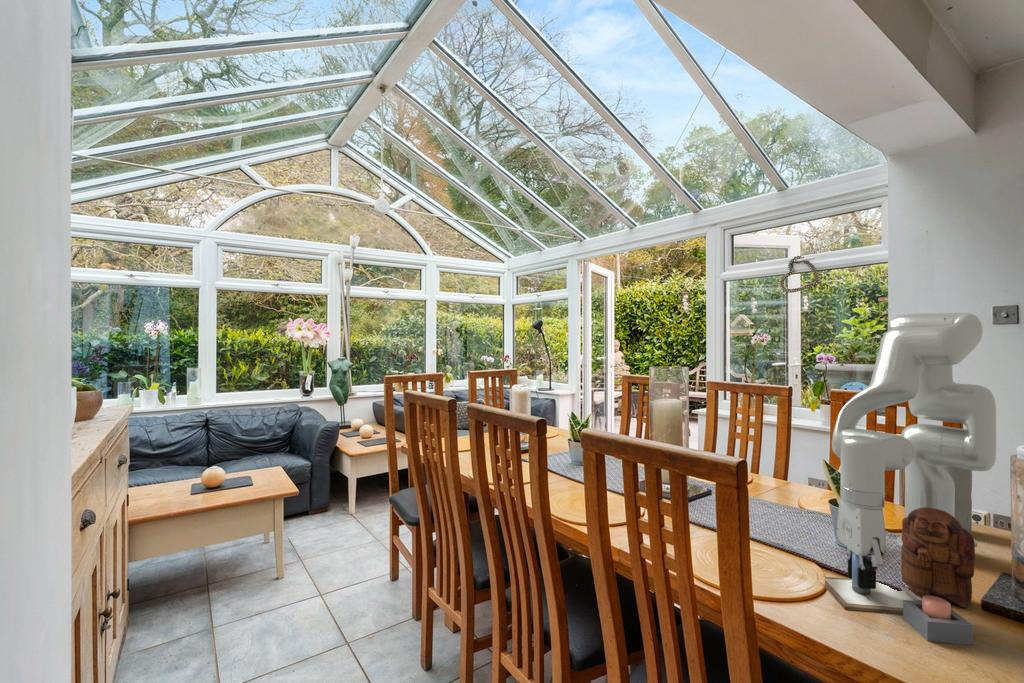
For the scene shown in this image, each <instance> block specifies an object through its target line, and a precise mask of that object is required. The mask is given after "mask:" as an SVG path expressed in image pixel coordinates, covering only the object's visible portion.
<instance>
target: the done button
mask: <svg viewBox="0 0 1024 683" xmlns="http://www.w3.org/2000/svg"><path fill="white" fill-rule="evenodd" d="M921 598H922V599H921V600H922V611H923V612H924V613H925V614H926V615H928V616H929V617H930V618H936V619H948V620H951V609H952V605H951V604H952V603H949V602H948V601H946V600H944V599H942V598H939V597H935V596H929V595H925V596H923V597H921Z"/></svg>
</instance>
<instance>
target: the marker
mask: <svg viewBox="0 0 1024 683" xmlns="http://www.w3.org/2000/svg"><path fill="white" fill-rule="evenodd" d="M869 554H871V552H869ZM867 560H871V558H865V562H866V561H867ZM858 568H860V562H859V556H858V555H856V554H855V553H854V552H852V589H853V590H854V591H855V592H858V593H861V594H870V593H871V589H866V588H859V587H858V585H857V579H858Z"/></svg>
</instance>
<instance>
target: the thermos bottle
mask: <svg viewBox="0 0 1024 683" xmlns="http://www.w3.org/2000/svg"><path fill="white" fill-rule="evenodd" d="M943 467H944V468H945V469H946V471H947V472H948V473H949V475H950V476H951V478H952V479H953V482H954V485H955V512H954V518H955V519H956V520H958V521H959V523H960V524H961V526H962V527H963V528H964V529H966V530H967V531H969V532H970V533H971V534H972V529H973V528H972V526H973V524H972V522H973V521H972V517H973V516H972V515H973V513H972V512H973V511H972V510H973V504H972V503H973V502H972V501H973V500H972V491H973V470H967V469H961V468H955V467H950V466H943Z"/></svg>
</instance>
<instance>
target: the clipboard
mask: <svg viewBox="0 0 1024 683" xmlns="http://www.w3.org/2000/svg"><path fill="white" fill-rule="evenodd" d="M824 577H825V586H826V588H825V589H826V590H827V591H828V593H830V594H831V596H832V598H834V599H835V600H836V601H837V602H838V603H839V605H840V606H841V607H842V608H843V609H844V610H850V611H862V612H875V613H886V614H887V613H889V614H900V615H903V600H909V601H922V599H921V598H920V596H918V595H916V594H914V593H913V592H911V591H910V590H909V589H908V588H906V587H905V586H903V587H900V588H901V589H902V591H897V590H894V589H892V588H890V587H889V586H887V585H884V584H881V583H879V582H876V588H875V589H871V593H870V594H861V593H858V592H855V591H854V590H853V589H852V579H850V578H849V577H848V578H844V577H833V576H832V577H831V576H824Z"/></svg>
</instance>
